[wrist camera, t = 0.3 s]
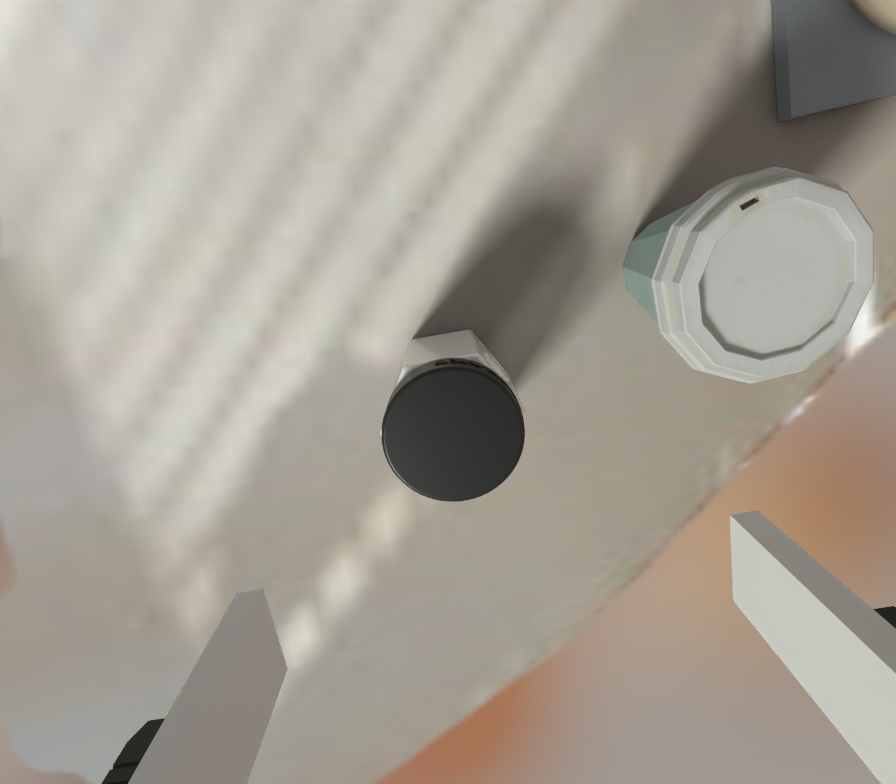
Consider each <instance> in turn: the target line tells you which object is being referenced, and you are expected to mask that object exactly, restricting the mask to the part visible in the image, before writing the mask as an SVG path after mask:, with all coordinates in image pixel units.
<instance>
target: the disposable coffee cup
mask: <svg viewBox="0 0 896 784" xmlns="http://www.w3.org/2000/svg"><path fill="white" fill-rule="evenodd" d="M622 267H623V273H624V278H625V284H626V289H627V292H628V293H629V294H630V295H631V296H632V297H633V298H634V299H635V300H636V302H637V303H638V304H639V305H640V306H641V307H642V308H643V309H644V310H645V311H646V312H647V313H648V314H649V315H650V316H651V318H652V319H653V320H654V321H655V322H656V323H657V324H658V325H659V330H660V333H661V334H662V335H663V336H664V337H665V339H666V340H667V341H668V342H669V343H670V344H671V345H672V346H673V347H674V348H675V350H676V351H677V352H678V353H679V354H680V355H681V356H682V357H683V358H684V359H685V361H686V362H687V363H688V364H689V365H690V366H691V367H692V368H693V369H695V370H699V371H703V372H706V373H710V374H714V375H718V376H721V377H725V378H729V379H733V380H736V381H740V382H747V383H755V382H759V381H763V380H767V379H771V378H775V377H779V376H783V375H787V374H791V373H796V372H800V371H804V370H805V369H806V368H807V367H809V366H810V365H811V364H812V363H814V362H815V361H816V360H817V359H818V358H820V357H821V356H822V355H823V354H824V353H826V352H827V351H828V350H829V349H831V348H832V347H833V346H834V345H835V344H837V343H838V342H839V341H840V340H842V339H843V338H844V337H845V336H846V335H848V334H849V332H850V330H851V328H852V326H853V323H854V321H855V319H856V317H857V315H858V313H859V311H860V309H861V307H862V305H863V302H864V300H865V298H866V297H867V295H868V293H869V291H870V289H871V287H872V285H873V283H874V231H873V229H872V228H871V226H870V224H869V223H868V222H867V220H866V219H865V217H864V216H863V214H862V213H861V211H860V210H859V209H858V207H857V206H856V204H855V203H854V201H853V200H852V198H851V197H850V195H849V194H848V192H847V191H845V190H843V189H842V188H841V186H840V185H839V184H838V183H835V182H832V181H829V180H825V179H822V178H818V177H815V176H812V175H808V174H805V173H801V172H798V171H795V170H791V169H788V168H779V167H776V166H774V167H770V168H766V169H763V170H759V171H756V172H752V173H748V174H745V175H741V176H738V177H734V178H731V179H728V180H726V181H724V182H722V183H721V184H719V185H717V186H715V187H714V188H712V189H710V190H708V191H707V192H706V193H705V194H704V195H703V196H702V197H700V198H699V199H698V200H696V201H694V202H692V203H690V204H688V205H686V206H684V207H682V208H680V209H678V210H676V211H674V212H672V213H670V214H668V215H666V216H664V217H662V218H660V219H658V220H656V221H654V222H652V223H650V224H649V225H648V226H647V227H646V228H645V229H644V230H643V231H642V232H641V233H640V234H639V235H638V236H637V237H636V238H635V239H634V240H632V241H631V243H630V246H629V249H628V252H627V255H626V258H625V261H624V264H623V266H622Z"/></svg>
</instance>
